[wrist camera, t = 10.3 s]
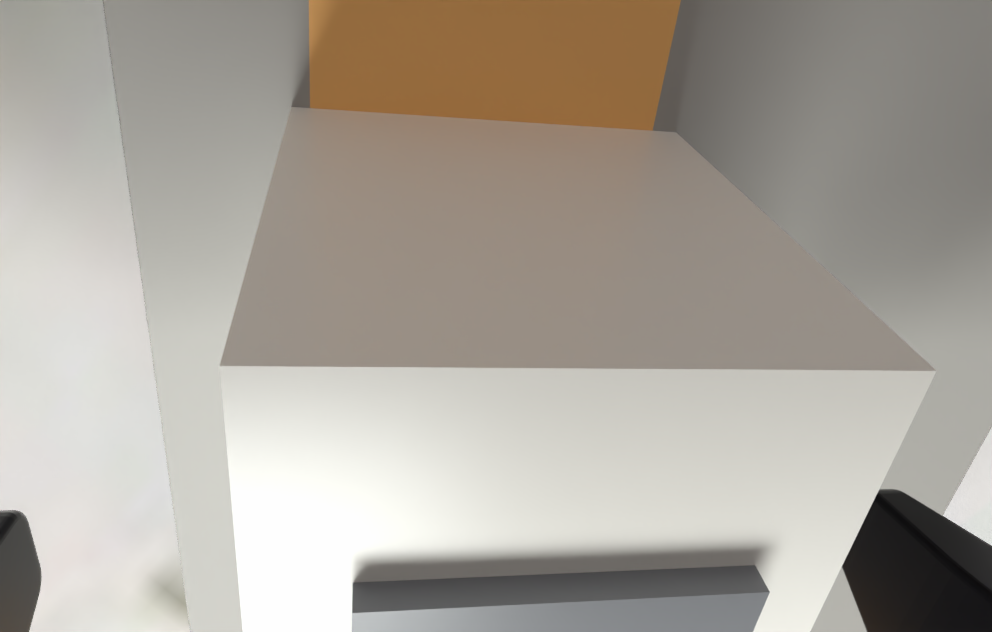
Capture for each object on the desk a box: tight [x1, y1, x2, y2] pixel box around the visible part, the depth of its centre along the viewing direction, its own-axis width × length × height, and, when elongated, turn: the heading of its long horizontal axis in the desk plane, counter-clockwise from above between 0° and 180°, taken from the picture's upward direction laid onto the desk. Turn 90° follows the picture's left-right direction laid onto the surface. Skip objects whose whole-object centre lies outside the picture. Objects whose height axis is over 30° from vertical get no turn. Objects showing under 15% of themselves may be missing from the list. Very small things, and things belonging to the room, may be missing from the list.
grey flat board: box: [103, 0, 992, 632], centre depth 12 cm, size 13×20×1 cm, turn 173°
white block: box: [220, 107, 936, 632], centre depth 8 cm, size 4×7×5 cm, turn 173°
